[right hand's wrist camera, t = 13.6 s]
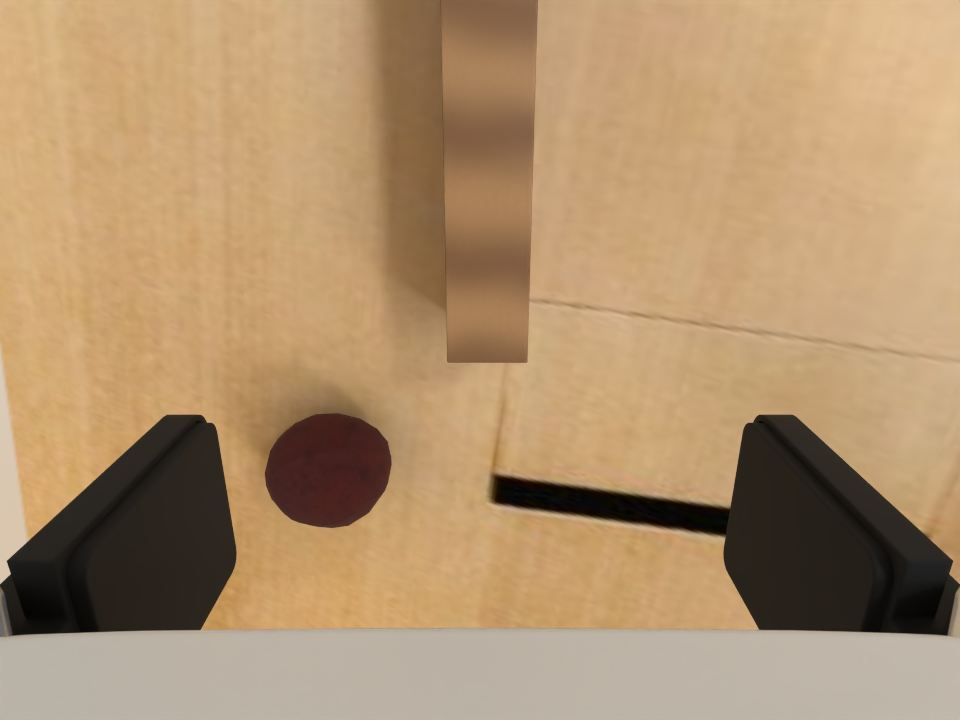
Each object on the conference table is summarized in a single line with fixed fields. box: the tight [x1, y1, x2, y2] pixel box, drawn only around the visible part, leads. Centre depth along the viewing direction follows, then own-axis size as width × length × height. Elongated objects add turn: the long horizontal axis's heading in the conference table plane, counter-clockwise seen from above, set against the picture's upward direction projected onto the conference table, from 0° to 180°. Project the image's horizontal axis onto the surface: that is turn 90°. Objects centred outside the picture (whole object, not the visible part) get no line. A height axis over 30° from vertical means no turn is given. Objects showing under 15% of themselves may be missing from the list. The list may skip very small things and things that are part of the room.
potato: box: [265, 413, 391, 528], centre depth 40 cm, size 7×8×7 cm
